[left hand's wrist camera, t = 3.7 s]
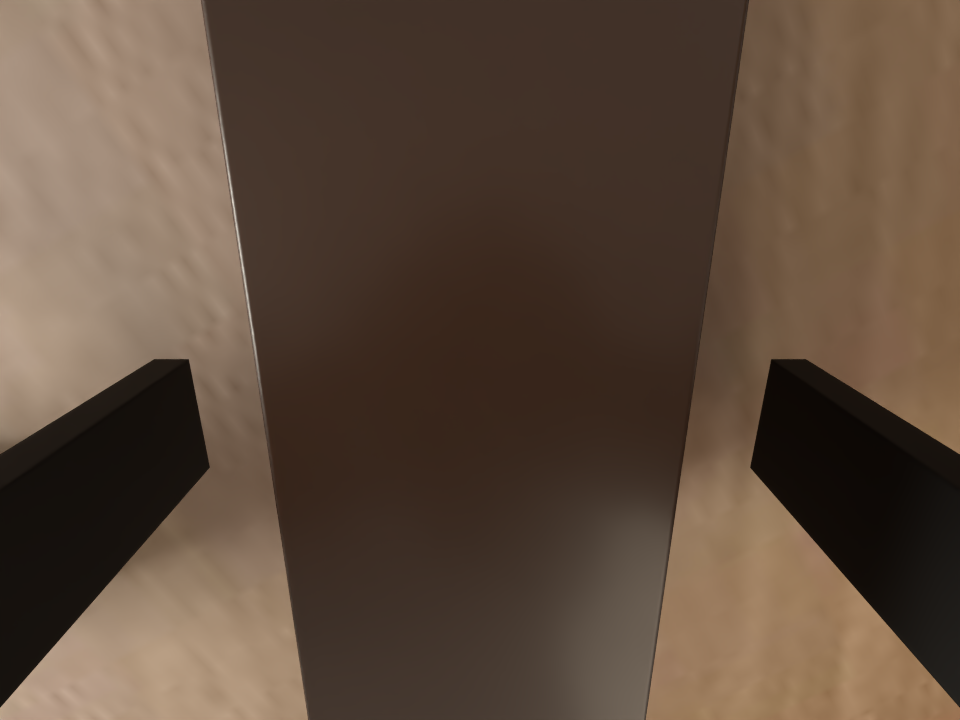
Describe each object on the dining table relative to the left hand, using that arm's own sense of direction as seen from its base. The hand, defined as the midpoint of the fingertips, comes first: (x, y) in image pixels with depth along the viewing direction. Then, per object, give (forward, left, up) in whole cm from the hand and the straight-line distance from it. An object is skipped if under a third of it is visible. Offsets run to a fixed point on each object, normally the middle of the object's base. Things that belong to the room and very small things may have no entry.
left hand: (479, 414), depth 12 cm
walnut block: (+8, 0, -1) cm, 9 cm away
